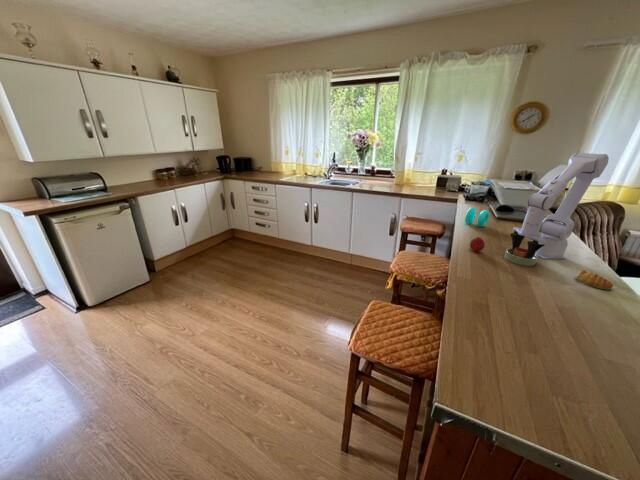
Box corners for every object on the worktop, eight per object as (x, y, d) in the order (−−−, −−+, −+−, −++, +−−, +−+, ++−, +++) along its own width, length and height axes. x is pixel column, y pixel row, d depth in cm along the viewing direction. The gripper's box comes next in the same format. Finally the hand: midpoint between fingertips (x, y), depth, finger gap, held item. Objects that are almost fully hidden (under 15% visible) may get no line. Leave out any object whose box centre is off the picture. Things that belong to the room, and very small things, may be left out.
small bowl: (520, 256, 112) (523, 247, 111) (530, 262, 107) (534, 253, 105) (508, 256, 112) (511, 247, 110) (518, 262, 107) (521, 253, 105)
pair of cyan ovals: (468, 221, 159) (472, 205, 155) (486, 225, 152) (491, 209, 148) (462, 224, 152) (466, 208, 148) (480, 229, 146) (485, 212, 142)
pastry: (613, 287, 91) (618, 278, 90) (607, 293, 88) (612, 283, 86) (579, 275, 98) (583, 267, 97) (572, 280, 95) (576, 271, 94)
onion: (484, 255, 114) (489, 238, 111) (470, 254, 115) (474, 237, 112) (479, 249, 120) (484, 234, 116) (466, 248, 121) (470, 233, 117)
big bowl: (521, 254, 115) (523, 247, 114) (542, 266, 105) (545, 259, 104) (498, 255, 115) (500, 248, 113) (516, 267, 105) (519, 259, 103)
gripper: (509, 217, 110) (500, 246, 115) (537, 229, 96) (526, 261, 102) (525, 217, 110) (515, 246, 115) (555, 229, 97) (543, 261, 102)
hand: (521, 253), depth 108 cm, fingers open, 7 cm apart
